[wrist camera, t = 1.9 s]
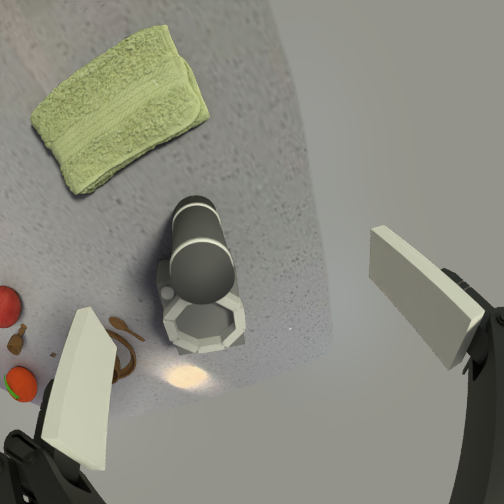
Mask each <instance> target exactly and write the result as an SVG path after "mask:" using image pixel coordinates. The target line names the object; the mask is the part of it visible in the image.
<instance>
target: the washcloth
mask: <svg viewBox="0 0 504 504" xmlns="http://www.w3.org/2000/svg"><path fill="white" fill-rule="evenodd" d="M209 118H210V114H209V112H208V109H207V107H206V105H205V103H204V101H203V99H202V96H201V93H200V90H199V88H198V85H197V82H196V80H195V77H194V75H193V72H192V70H191V68H190V67H189V65H188V64H187V62H186V61H185V60H184V59H183V58H182V57H181V56H179V55H178V52H177V50H176V47H175V45H174V43H173V41H172V39H171V36H170V33H169V30H168V27H167V25H162V26H159V25H158V26H153V27H151V28H147V29H142V30H141V29H140V30H139V31H138V32H137V33H135V34H132V35H130V37H128V38H126V39H124V40H123V41H120V42H119V43H118V44H117V45H116V46H115V47H112V48H110V49H108V50H107V52H106V53H105V54H101V55H100V56H98V58H96V57H95V59H93V60H92V61H91V62H90V63H88V64H86V65H85V66H84V67H83V68H80V69H79V70H77V71H76V72H75V73H74V74H73V75H72V76H70V78H68V79H67V80H66V81H63V82H61V83H60V84H59V85H58V87H57V88H54V89H53V91H52V92H51V93H50V94H49V95H48V96H47V97H46V98H45V99H44V101H43V102H42V103H40V104H39V105H38V107H37V108H36V109H35V110H34V111H33V112H32V114H31V118H30V121H31V123H32V125H33V126H34V128H35V129H36V131H37V132H38V134H39V135H41V137H42V138H41V139H42V140H43V141H44V143H45V146H46V147H47V148H48V149H50V150H51V151H52V153H53V155H54V156H55V158H56V159H57V161H58V162H59V164H60V166H61V167H60V171H61V172H62V176H64V179H65V182H66V184H67V186H68V187H69V188H70V190H71V192H73V193H74V194H75V195H77V194H79V193H80V194H84V193H92V192H93V191H95V189H96V188H97V187H99V186H101V185H103V184H104V183H105V182H106V181H107V180H108V179H109V178H111V177H112V176H113V175H114V174H115V173H116V172H117V171H118V170H120V169H121V168H123V167H125V166H126V165H127V164H129V163H130V162H132V161H133V160H135V159H136V158H139V157H140V156H141V155H143V154H144V153H146V152H147V151H149V150H151V149H154V148H155V146H156V145H158V144H161V143H164V142H168V141H169V140H171V139H172V138H173V137H178V136H179V135H181V134H182V133H185V132H186V131H188V130H189V129H190V128H193V127H196V126H197V125H199V124H201V123H203V122H205V121H206V120H207V119H209Z"/></svg>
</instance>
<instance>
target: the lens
mask: <svg viewBox="0 0 504 504" xmlns="http://www.w3.org/2000/svg"><path fill="white" fill-rule="evenodd" d="M172 232H173V234H172V253H171V259H170V275H171V285H172V288H173V290H174V292H175V293H176V294H177V295H178V296H179V297H180V298H181V299H183V300H184V301H187V302H189V303H192V304H198V305H205V304H211V303H214V302H217V301H219V300H220V299H222V298H223V297H225V296H226V295H227V294H228V293H229V292H230V290H231V289H232V287H233V285H234V281H235V272H234V268H233V261H232V258H231V255H230V253H229V251H228V249H227V245H226V242H225V239H224V235H223V232H222V229H221V223H220V219H219V216H218V214H217V212H216V209H215V206H214V205H213V203H212V202H211V201H210V200H209V199H207V198H205V197H202V196H196V195H195V196H189V197H186V198H184V199H183V200H181V201H180V202H179V203H178V205H177V206H176V208H175V211H174V218H173V222H172Z"/></svg>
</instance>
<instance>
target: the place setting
mask: <svg viewBox="0 0 504 504" xmlns="http://www.w3.org/2000/svg"><path fill="white" fill-rule="evenodd" d="M109 321H110V323H111V325H112V326H114V327H115V328H117V329H120V330H124V331H127V332H128V333H130V334H132V335H133V336H135V337H136V338H138V339H139V340H141V341H143V342H144V341H145V340H144V339H143V338H142V337H140V336H138V335H137V334H135V333H133V332H132V331H130V330H129V329H128V327H127V325H126V324H125V323H124V322H123V321H122V320H120V319H118V318H115V317H110V318H109ZM24 329H27V327H26V325H24V324H21V328H20V329H19V333H18V334H14V335H13V336H12V337H11V338H10V340H9V342H8V345H7V348H8V350H9V351H10V352H11V353H12V354H14V355H19V354H20V352H21V349H22V346H23V339H22V338H21V337H22V335H23V334H24ZM105 330H106V329H105ZM106 332H107V333H108V335H109V336H110V337H113V338H115V339H117V340H118V341H120V342H121V343H123V344H124V345H125V346H126V347H127V348H128V349H129V350H130V353H131V360H130V362H129V364H128V365H127V366H126V367H125V368H123V369H121V370H120V361H119V358H118V356H117V355H116V358H115V364H114V371H113V378H112V384H114V383H116V382H117V381H118V379H121V378H124V377H126V376H128V375H130V374H131V373H132V372H133V371H134V369H135V367H136V356H135V352H134V350H133V348H132V347H131V346H130V344H129V343H128V342H127V341H126V340H125V339H124V338H122V337H121V336H119V335H118V334H116V333H114V332H112V331H109V330H106ZM51 355H52V353H51ZM51 355H50V356H51ZM54 355H55V353H54V354H53V356H52V357H54ZM56 355H57V354H56ZM56 355H55V356H56Z"/></svg>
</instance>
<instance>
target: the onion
mask: <svg viewBox="0 0 504 504" xmlns="http://www.w3.org/2000/svg"><path fill="white" fill-rule="evenodd" d="M20 312H21V303H20V300H19V297H18V295H17V294H16V292H15V291H14V290H13V289H11V288H9V287H6V286H0V328H8V327H11V326H12V325H14V324H15V323H16V322H17V320H18V319H19V316H20Z"/></svg>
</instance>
